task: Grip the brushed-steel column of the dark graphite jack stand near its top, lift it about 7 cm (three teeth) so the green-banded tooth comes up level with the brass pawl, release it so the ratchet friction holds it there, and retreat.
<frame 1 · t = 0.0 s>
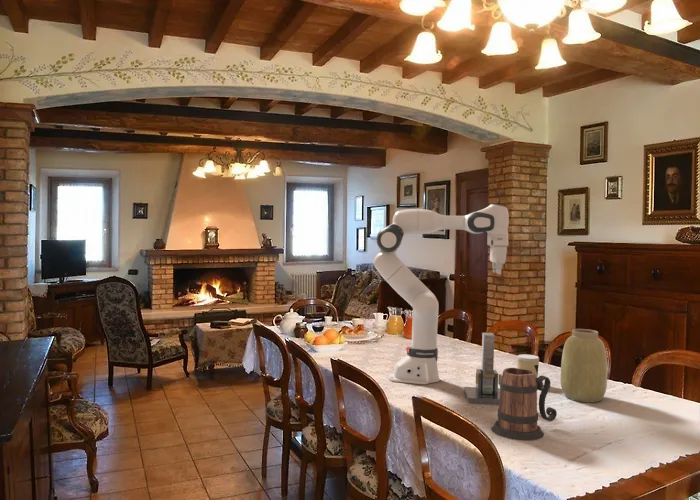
hand: (496, 273, 246), 48 cm above the table, fingers open, 8 cm apart
tankard: (525, 430, 187), on the table
column: (487, 363, 223), point 14 cm above the table, slide at 0.0 cm
coffee cup: (527, 384, 246), on the table
vase: (582, 398, 227), on the table
stand base: (486, 398, 223), on the table
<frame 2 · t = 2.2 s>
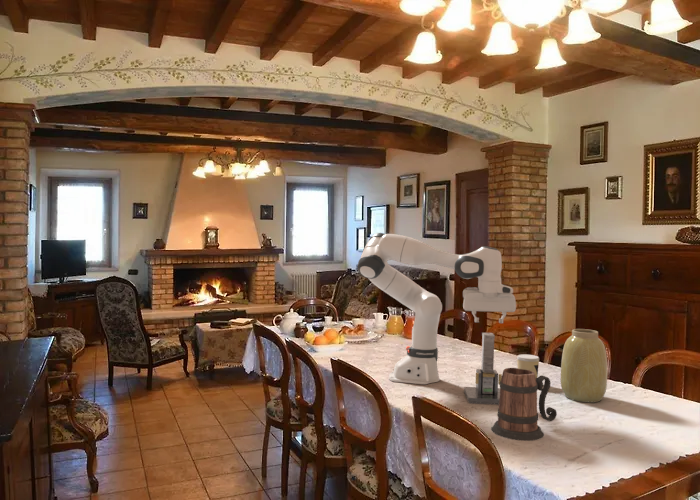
hand: (488, 322, 223), 30 cm above the table, fingers open, 8 cm apart
nothing on the table moved.
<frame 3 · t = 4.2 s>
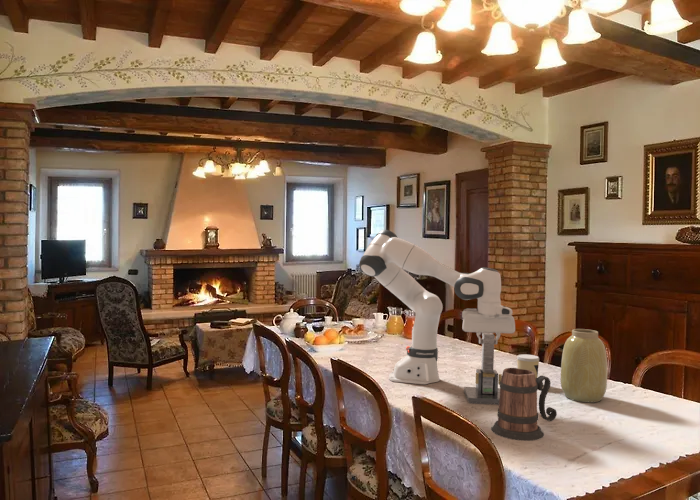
hand: (488, 343, 223), 22 cm above the table, fingers closed on column, 4 cm apart
column: (487, 363, 223), point 14 cm above the table, slide at 0.0 cm, touching gripper
everything else where it was.
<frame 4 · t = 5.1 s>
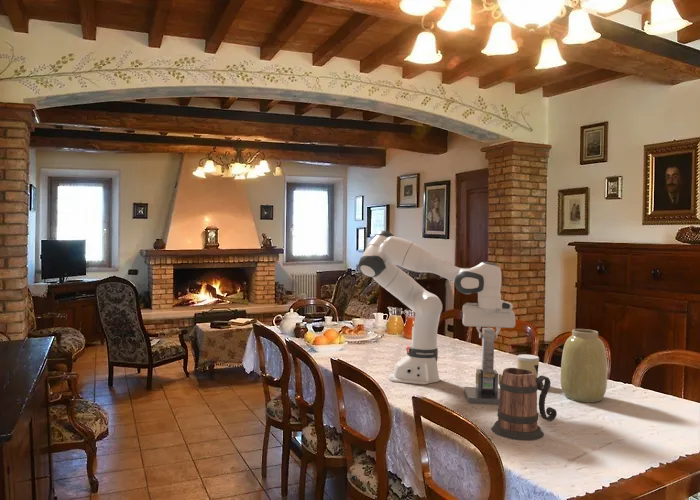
hand: (488, 338, 223), 24 cm above the table, fingers closed on column, 4 cm apart
column: (487, 358, 223), point 16 cm above the table, slide at 2.0 cm, touching gripper
everything else where it was.
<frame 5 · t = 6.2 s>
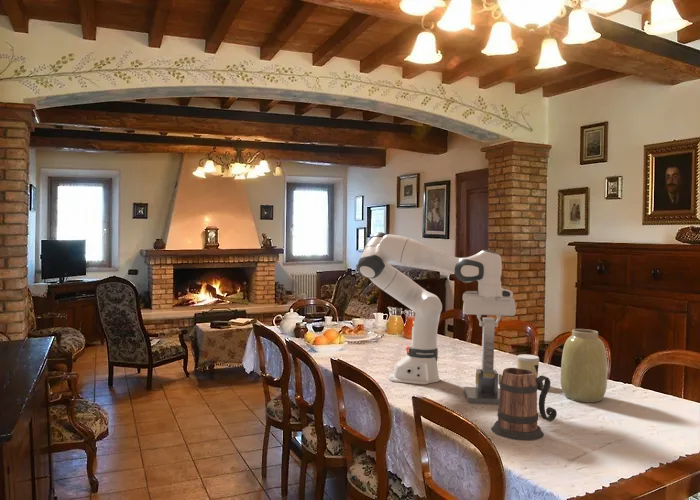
hand: (488, 326, 223), 29 cm above the table, fingers closed on column, 4 cm apart
column: (487, 347, 223), point 20 cm above the table, slide at 6.1 cm, touching gripper
everything else where it was.
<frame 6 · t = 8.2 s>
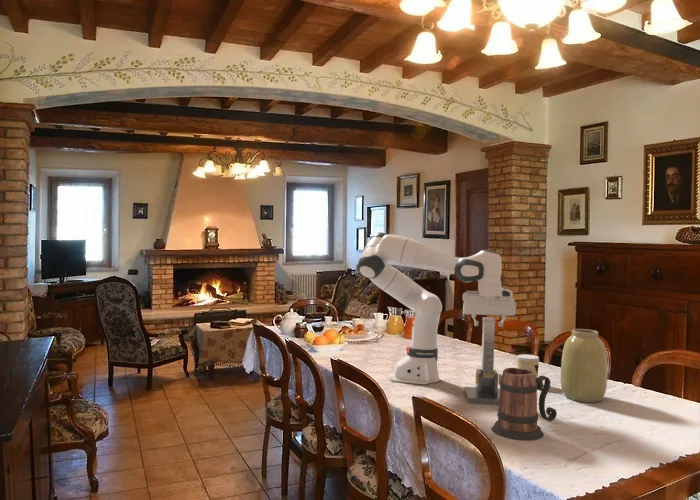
hand: (488, 326, 223), 29 cm above the table, fingers open, 8 cm apart
column: (487, 347, 223), point 20 cm above the table, slide at 6.2 cm
everything else where it was.
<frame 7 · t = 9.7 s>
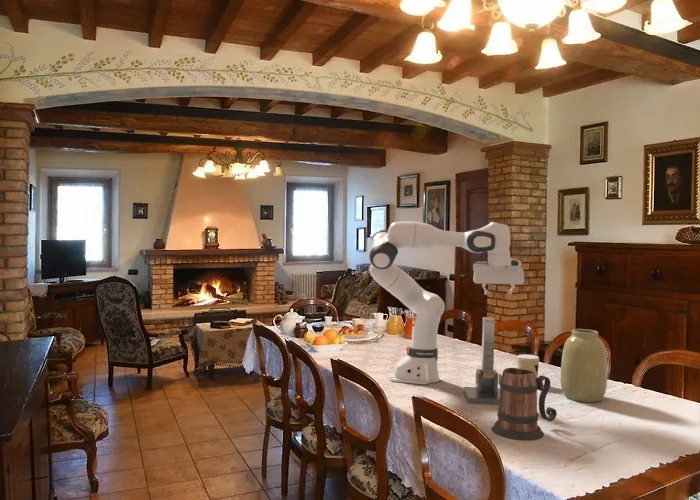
hand: (498, 294, 233), 40 cm above the table, fingers open, 8 cm apart
nothing on the table moved.
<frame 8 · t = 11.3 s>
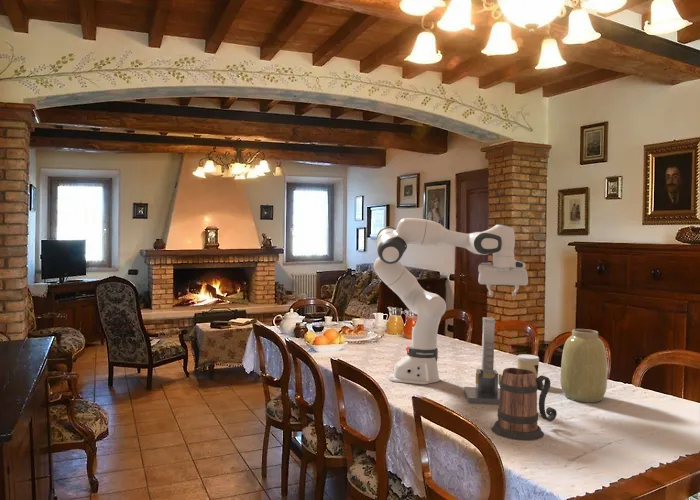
hand: (502, 295, 238), 39 cm above the table, fingers open, 8 cm apart
nothing on the table moved.
at the end: column slide at 6.2 cm; the gripper is holding nothing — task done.
